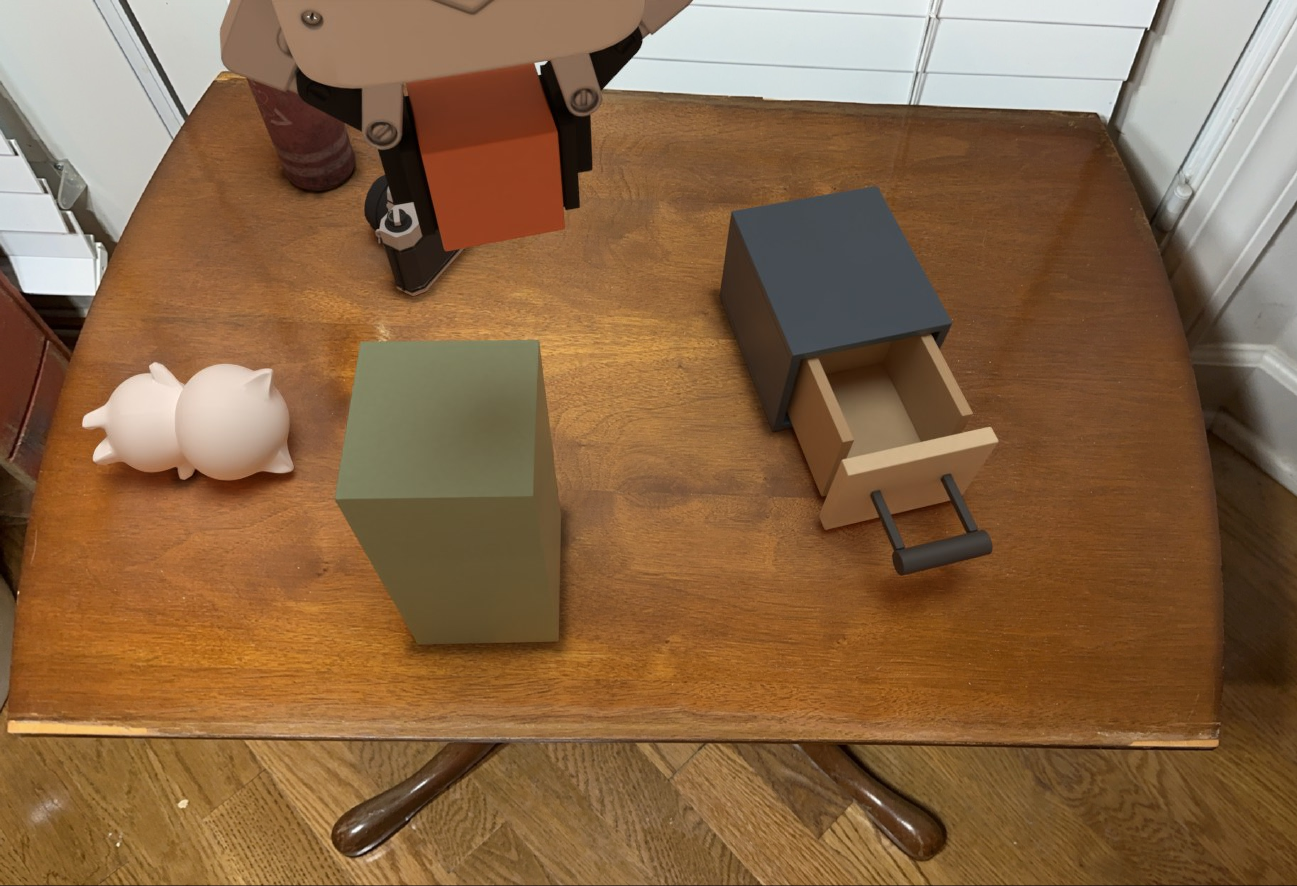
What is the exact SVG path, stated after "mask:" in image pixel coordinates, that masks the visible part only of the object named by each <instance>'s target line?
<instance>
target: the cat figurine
mask: <svg viewBox="0 0 1297 886" xmlns="http://www.w3.org/2000/svg"><path fill="white" fill-rule="evenodd" d="M148 369H149V372H146V373H145V372H143V373H139V374H135V375H133V376H131V377H129V378H127V379H125V380H123V382H121V383H120V384H119V385H118V386H117V387H116V388H115V390H114V391H113V392H112V393H111V395H110V397H109V399H108V401H107V402H106V403H105V404H103V405H102V406H100V407H98V408H96V409H94V410H91V411H89V412H87V413H86V414H85V415H84V416H83V417H82V425H81V427H82V429H84V430H90V431H92V430H95V429H98V428H99V429H103V430H104V431H105V434H106V436H105V437H104V439H103V440H101V441H100V442H99V444H98V445H97V446H96V448H95V449H94V451H93V455H92V461H93V462H94V463H95V464H96V465H98V466H106V465H110V464H111V465H112V464H115V463H119V462H120V463H124V464H126V465H128V466H130V467H132V468H133V469H136V470H138V471H141V472H144V473H158V472H159V473H160V472H164V471H167V470H171V469H173V468H177V474H178V477H179V479H180V480H184V481H186V480H187V479H189V478H190V477H192V476H193V474H194V473H195V470H196V471H198V472H200V473H201V474H203V475H205V476H206V477H209V478H212V479H215V480H220V481H236V480H241V479H245V478H247V477H250V476H252V475H254V474H256V473H260V472H267V473H274V474H287V473H291V472H292V471H293V470H294V468H295V465H294V463H293V461H292V457H291V455H290V454H291V453H290V451H289V445H288V439H289V432H290V428H291V426H290V425H291V422H290V421H291V417H290V412H289V408H288V405H287V403H286V401H285V398H284V397H283V396H282V394H281V392H280V391H279V390H278V388H276V386H275V372H274V369H272V368H269V367H266V368H260V369H258V370H253V369H250V368H248V367H245V366H242V365H239V364H233V363H217V364H214V365H209V366H207V367H205V368H203V369H201V370H199V371H197V372H196V373H195V374H194V375H193V376H192V377H191V378H190V379H189V380H188V381H187V382H186V383H185V384H184V383H183V382H181V381H179V380H178V379H177V378H176V377H175V375H174V374H173V373H172V372H171V371H170V370H169V369H168V368H167V367H166V366H165V364H162V363H159V362H157V361H153V363H151V364H149V366H148Z"/></svg>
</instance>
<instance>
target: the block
mask: <svg viewBox="0 0 1297 886" xmlns="http://www.w3.org/2000/svg"><path fill="white" fill-rule="evenodd" d="M539 75H540V74H539V73H538V70H537V66H536V63H532V64H525V65H519V66H513V67H507V68H501V69H494V70H488V71H482V72H475V73H469V74H462V75H456V76H449V77H443V78H436V79H429V80H423V81H416V82H409V83H405V86H406V91H407V96H409V101H410V105H411V110H412V114H413V119H414V124H415V128H416V133H417V137H418V142H419V146H420V151H421V156H422V160H423V164H424V168H425V172H426V176H427V181H428V185H429V189H430V193H431V197H432V201H433V205H434V210H435V214H436V218H437V222H438V226H439V230H440V235H441V239H442V243H443V247H444V250H445V251H452V250H457V249H462V248H464V249H467V248H472V247H473V248H474V247H477V246H478V247H479V246H483V245H489V244H494V243H499V242H506V241H511V240H515V239H521V238H527V237H531V236H536V235H542V234H548V233H554V232H559V231H564V230H565V229H566V222H565V221H566V220H565V207H563V194H562V181H561V169H560V156H559V143H558V132H557V129H556V126H555V123H554V120H553V117H552V114H551V111H550V108H549V105H548V102H547V99H546V96H545V93H544V90H543V87H542V84H541V81H540V78H539Z"/></svg>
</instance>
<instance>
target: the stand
mask: <svg viewBox="0 0 1297 886" xmlns="http://www.w3.org/2000/svg"><path fill="white" fill-rule="evenodd" d="M550 425H551V424H550V416H549V407H548V401H547V393H546V385H545V376H544V367H543V360H542V352H541V344H540V339H478V340H477V339H476V340H474V339H471V340H469V339H468V340H465V339H464V340H462V339H461V340H375V341H374V340H373V341H372V340H363V341H362V340H361V341H360V342H359V347H358V353H357V359H356V366H355V370H354V378H353V382H352V391H351V395H350V402H349V408H348V414H347V420H346V425H345V432H344V438H343V445H342V451H341V455H340V456H341V457H340V463H339V468H338V475H337V480H336V485H335V486H336V487H335V492H334V502H335V503H336V504H337V506H338V508H339V510H340V512H341V513H342V516H343V517H344V518H345V521H346V522H347V524H348V526H349V527H350V529H351V531H352V533H353V534H354V536H355V537H356V539H357V542H358V543H359V544H360V547H361V548H362V550H363V551H364V553H365V555H366V557H367V559H368V561H369V562H370V564H371V566H372V568H373V570H374V571H375V572H376V574H377V576H378V578H379V580H380V581H381V583H382V585H383V586H384V588H385V590H386V592H387V594H388V595H389V597H390V599H391V601H392V602H393V604H394V606H395V608H396V609H397V611H398V613H399V614H400V616H401V618H402V620H403V621H404V623H405V625H406V627H407V629H408V630H409V632H410V634H411V635H412V637H413V640H414V641H415V642H416V644H417V645H418V646H419V645H421V646H422V645H460V644H461V645H464V644H465V645H466V644H508V643H510V644H511V643H513V644H514V643H515V644H516V643H517V644H518V643H555V642H556V643H557V642H559V641H560V639H559V638H560V597H561V596H560V593H561V592H560V590H561V589H560V587H561V547H562V545H561V544H562V543H561V540H562V539H561V538H562V514H561V506H560V504H561V503H560V497H559V489H558V481H557V480H558V479H557V473H556V465H555V464H556V463H555V457H554V449H553V442H552V435H551V434H552V433H551V432H552V431H551V426H550Z"/></svg>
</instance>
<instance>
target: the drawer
mask: <svg viewBox="0 0 1297 886" xmlns="http://www.w3.org/2000/svg"><path fill="white" fill-rule="evenodd" d="M787 413H788V416H789V418H790V421H791V423H792V425H793V427H792V428H793V430H794V433H795V435H796V438H797V441H798V442H799V445H800V447H801V450H802V452H803V455H804V458H805V460H806V462H807V465H808V467H809V470H810V472H811V475H812V477H813V479H814V482H815V484H816V487H817V490H818V492H819V495H820V497H826V498H825V500H824V502H823V504H822V507H821V510H820V511H819V515H818V516H819V519H820V522H821V525H822V527H823V529H824V530H831V529H835V528H839V527H843V526H847V525H852V524H856V523H860V522H865V521H870V520H873V519H878V518H879V521H880V522H881V524H882V527H883V529H884V531H885V534H886V536H887V539H888V540H889V543H890V545H891V547H892V550H893V551H892V554H891V560H892V564H893V565H892V566H893V568H894V570H895V571H896V573H897V574H898V576H900V577H904V576H908V575H912V574H915V573H916V574H917V573H919V572H924V571H928V570H931V569H936V568H941V567H944V566H948V565H952V564H956V563H960V562H965V561H968V560H972V559H976V558H981V557H985V556H988V555H990V554H992V552H993V541H992V538H991V536H990V534H989V533H988V532H987V531H986V530H985V529H979V528H978V526H977V524H976V522H975V520H974V518H973V515H972V514H971V511H970V509H969V507H968V505H967V503H966V502H965V499H964V497H963V495H964V494H965V493H966V491H967V489H968V488H969V486H970V485H971V483H972V482H973V480H974V479H975V478H976V476H977V474H978V473H979V471H980V470H981V468H982V467H983V466H984V464H985V463H986V461H987V460H988V458H989V457H990V455H991V454H992V453H993V451H994V450H995V448H996V446H997V445H998V444H999V439H998V437H997V435H996V433H995V431H994V430H993V428H992V426H986V427H981V428H978V429H972V430H969V431H964V429H965V428H966V427H967V425H968V424H969V421H970V420H971V419H972V417H973V414H974V412H973V411H972V408H971V406H970V405H969V403H968V401H967V399H966V398H965V395H964V392H962V389H961V388H960V386H959V384H958V382H957V380H956V378H955V376H954V375H953V372H952V371H951V369H950V366H949V365H948V363H947V361H946V360H945V357H944V356H943V354H942V352H941V349H940V350H939V348H938V346H937V344H936V342H935V340H934V339H933V337H932V335H931V333H928V334H923V335H918V336H913V337H908V338H903V339H899V340H894V341H889V342H884V343H879V344H874V345H869V346H864V347H859V348H854V349H849V350H845V351H840V352H835V353H830V354H825V355H820V356H815V357H810V358H805V359H801V361H800V365H799V368H798V372H797V375H796V379H795V382H794V386H793V390H792V393H791V397H790V400H789V404H788V407H787ZM945 502H951V504H952V506H953V509H954V511H955V513H956V515H957V517H958V519H959V521H960V523H961V525H962V527H963V529H964V532H965V533H962V534H958V535H954V536H949V537H946V538H942V539H938V540H933V541H929V542H925V543H920V544H916V545H913V546H909V547H906V545H905V543H904V540H903V539H902V536H901V534H900V532H899V530H898V528H897V525H896V522H895V521H894V519H893V515H894V514H899V513H903V512H908V511H911V510H916V509H921V508H925V507H929V506H934V505H937V504H941V503H945Z"/></svg>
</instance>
